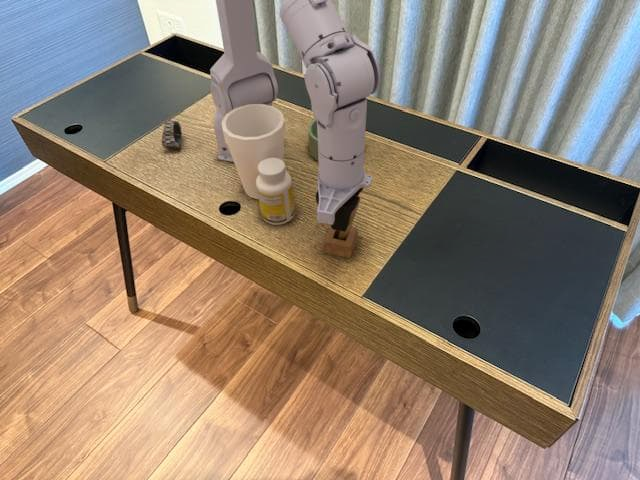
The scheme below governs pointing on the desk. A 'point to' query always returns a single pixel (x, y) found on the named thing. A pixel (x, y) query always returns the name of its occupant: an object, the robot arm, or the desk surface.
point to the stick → (344, 234)
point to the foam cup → (253, 140)
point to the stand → (340, 242)
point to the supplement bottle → (275, 192)
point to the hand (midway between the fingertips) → (340, 224)
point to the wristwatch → (171, 135)
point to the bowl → (313, 139)
